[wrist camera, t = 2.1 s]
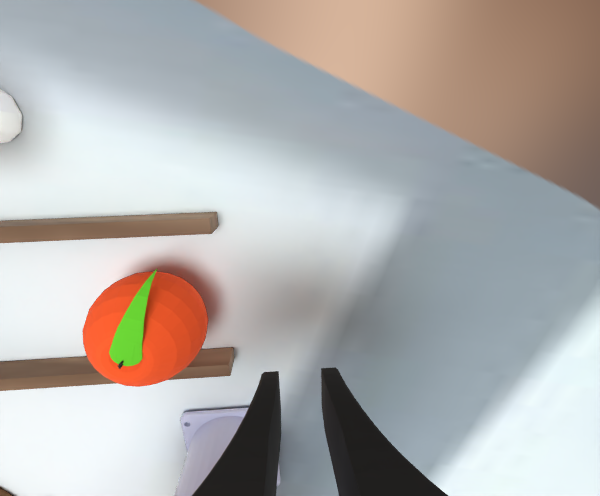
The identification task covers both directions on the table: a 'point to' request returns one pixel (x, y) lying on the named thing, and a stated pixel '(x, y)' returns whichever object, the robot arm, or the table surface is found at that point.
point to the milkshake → (9, 118)
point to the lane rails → (10, 231)
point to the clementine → (145, 328)
